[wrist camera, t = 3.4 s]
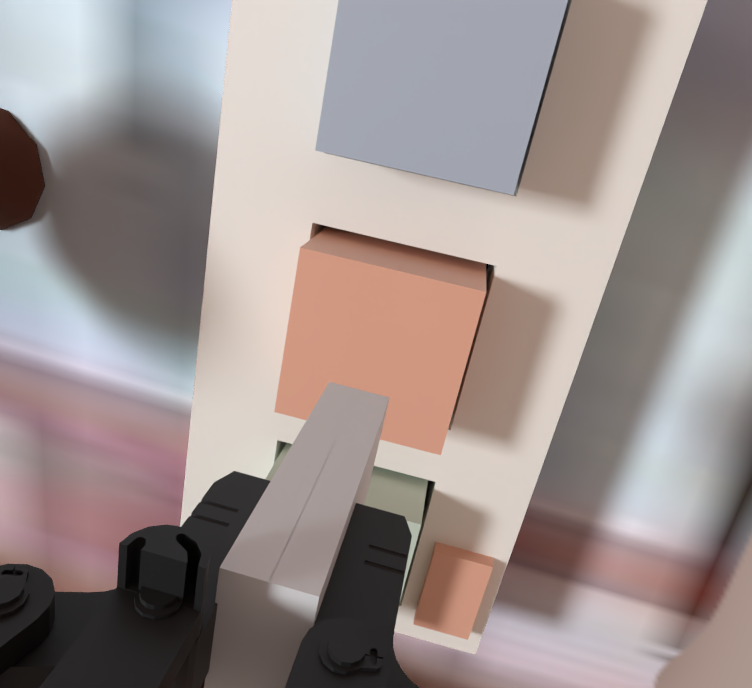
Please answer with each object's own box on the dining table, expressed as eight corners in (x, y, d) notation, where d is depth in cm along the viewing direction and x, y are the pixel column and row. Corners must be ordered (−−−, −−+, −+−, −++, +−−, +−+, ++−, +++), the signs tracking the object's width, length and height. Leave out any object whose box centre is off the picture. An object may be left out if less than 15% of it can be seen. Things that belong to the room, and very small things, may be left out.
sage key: (401, 568, 29) (387, 645, 25) (278, 534, 30) (244, 603, 25) (430, 460, 27) (421, 524, 23) (296, 425, 27) (263, 482, 23)
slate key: (507, 178, 22) (513, 195, 18) (345, 142, 23) (315, 150, 19) (559, -9, 20) (579, -40, 16) (378, -45, 21) (351, -85, 16)
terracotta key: (447, 399, 26) (441, 455, 22) (307, 363, 26) (274, 411, 22) (485, 259, 23) (486, 292, 19) (331, 223, 24) (299, 247, 20)
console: (476, 590, 31) (475, 665, 27) (211, 517, 32) (169, 578, 28) (687, -35, 21) (739, -72, 17) (287, -113, 22) (240, -166, 18)
